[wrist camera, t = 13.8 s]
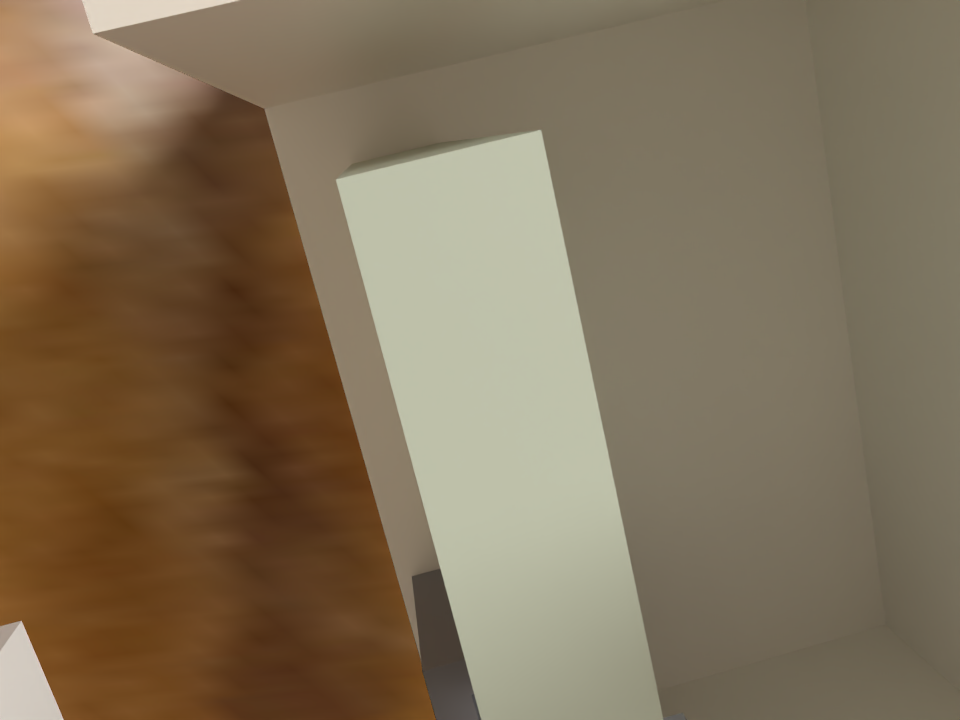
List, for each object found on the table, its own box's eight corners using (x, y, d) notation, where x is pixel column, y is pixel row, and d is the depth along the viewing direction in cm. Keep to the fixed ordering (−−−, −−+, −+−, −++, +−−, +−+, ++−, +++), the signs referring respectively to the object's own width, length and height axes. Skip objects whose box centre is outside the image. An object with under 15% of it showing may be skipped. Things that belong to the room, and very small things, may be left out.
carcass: (253, 54, 24) (37, -138, 8) (815, -76, 25) (1591, -467, 9) (454, 765, 29) (556, 1462, 14) (903, 634, 31) (1471, 1142, 15)
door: (300, 176, 23) (213, 209, 10) (490, 130, 24) (657, 101, 10) (452, 722, 28) (537, 1267, 14) (611, 676, 28) (842, 1165, 15)
